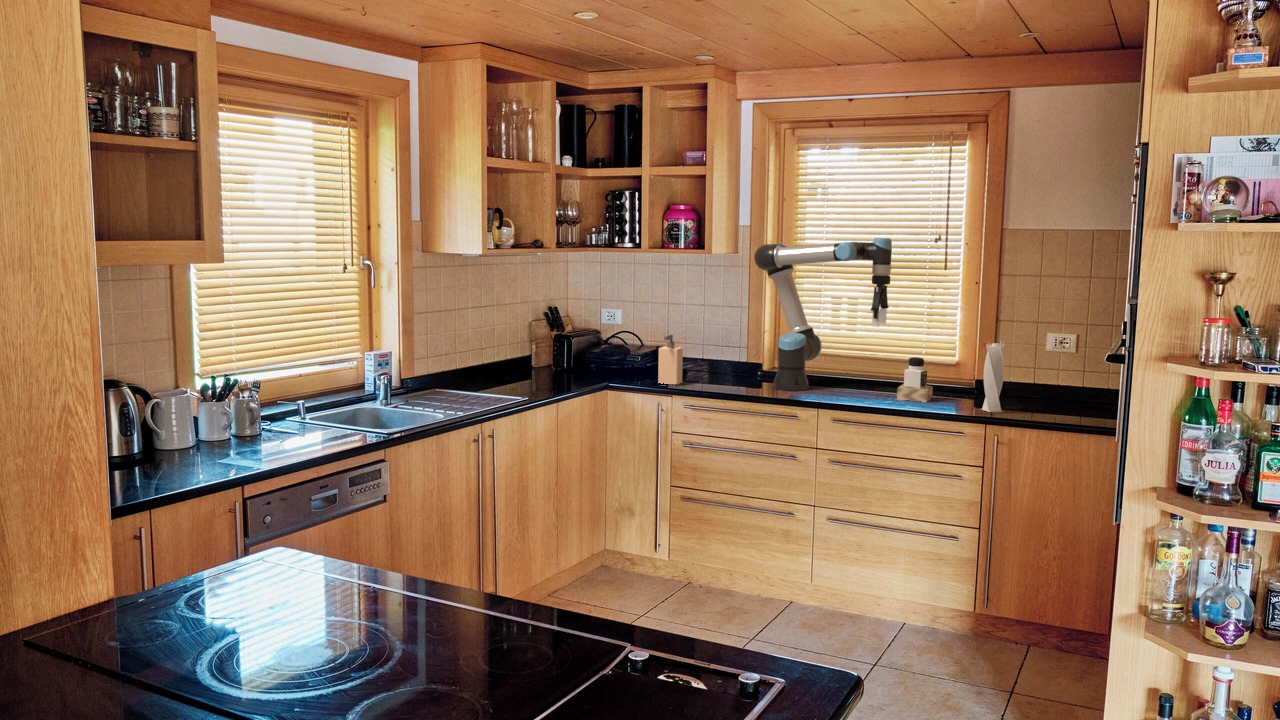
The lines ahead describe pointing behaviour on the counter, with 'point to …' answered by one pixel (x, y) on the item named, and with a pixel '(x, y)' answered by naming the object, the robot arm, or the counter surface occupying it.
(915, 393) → the base block
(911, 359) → the medicine bottle
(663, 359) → the soap dispenser
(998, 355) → the skyscraper
